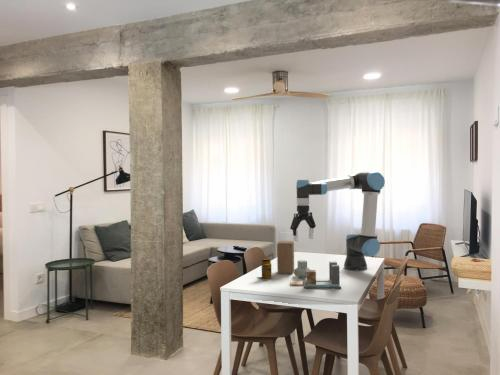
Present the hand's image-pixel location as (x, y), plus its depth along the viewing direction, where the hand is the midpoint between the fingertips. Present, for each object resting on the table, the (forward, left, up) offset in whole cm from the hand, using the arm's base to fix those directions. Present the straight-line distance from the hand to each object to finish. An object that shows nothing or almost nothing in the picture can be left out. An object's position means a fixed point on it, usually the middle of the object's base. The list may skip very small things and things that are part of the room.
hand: (303, 239), depth 254 cm
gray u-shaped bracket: (-9, +11, -24) cm, 28 cm away
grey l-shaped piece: (-9, +20, -24) cm, 32 cm away
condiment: (+24, -1, -24) cm, 34 cm away
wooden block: (+11, -17, -24) cm, 31 cm away
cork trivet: (+5, +14, -24) cm, 28 cm away
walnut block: (-3, +20, -22) cm, 30 cm away
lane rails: (-9, +15, -24) cm, 30 cm away
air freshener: (+1, -4, -24) cm, 24 cm away
